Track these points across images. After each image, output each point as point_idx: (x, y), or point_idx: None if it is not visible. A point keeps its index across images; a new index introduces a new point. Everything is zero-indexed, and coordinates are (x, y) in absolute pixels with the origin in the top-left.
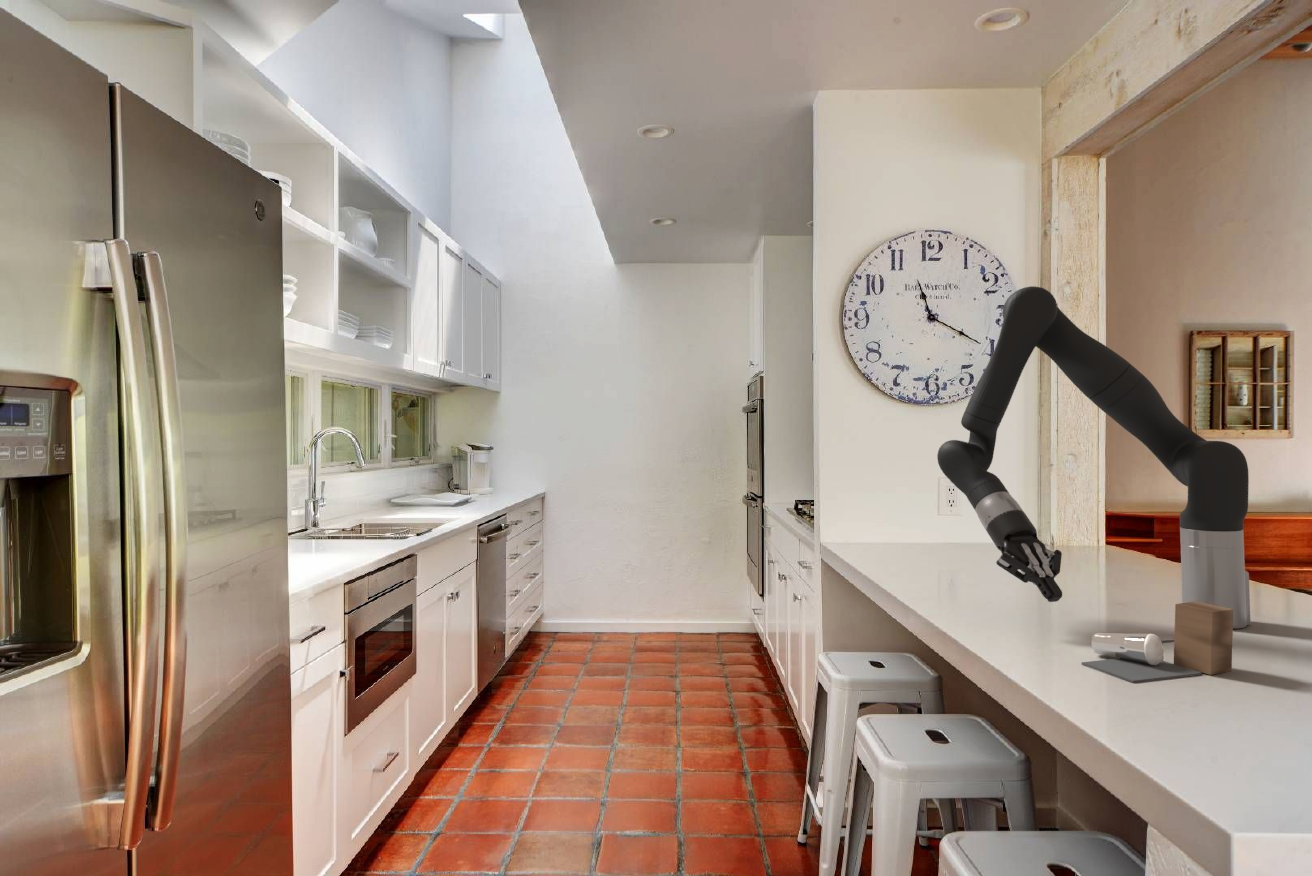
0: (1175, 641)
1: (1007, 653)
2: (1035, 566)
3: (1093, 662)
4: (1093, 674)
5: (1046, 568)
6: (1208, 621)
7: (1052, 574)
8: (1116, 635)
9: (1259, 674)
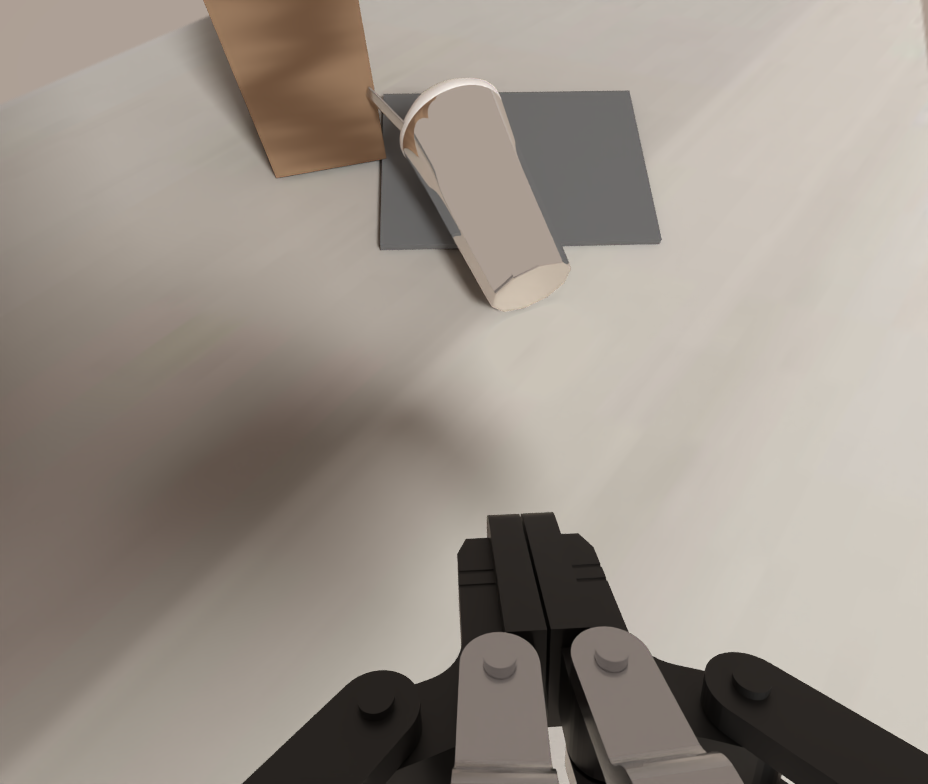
0: (373, 86)
1: (862, 418)
2: (675, 756)
3: (621, 230)
4: (685, 168)
5: (505, 735)
6: None
7: (474, 652)
8: (514, 184)
9: (229, 72)
